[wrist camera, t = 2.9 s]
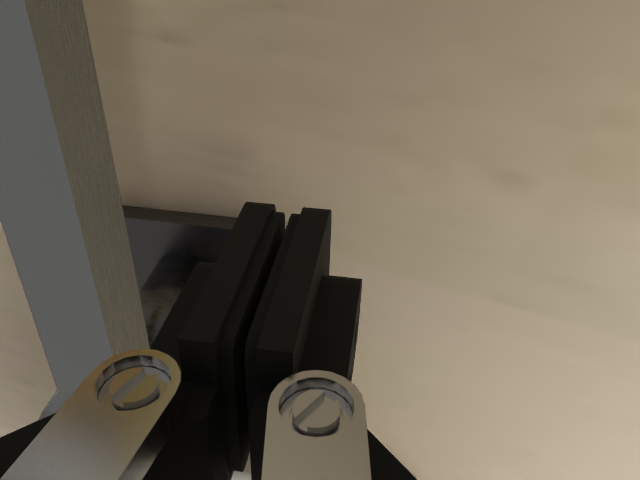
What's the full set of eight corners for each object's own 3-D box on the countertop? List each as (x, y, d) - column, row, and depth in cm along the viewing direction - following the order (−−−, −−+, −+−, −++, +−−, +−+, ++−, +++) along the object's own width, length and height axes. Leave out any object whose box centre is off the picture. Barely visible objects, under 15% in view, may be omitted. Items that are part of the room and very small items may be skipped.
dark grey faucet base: (114, 204, 24) (32, 302, 19) (261, 220, 23) (214, 325, 18) (137, 317, 27) (72, 423, 23) (265, 333, 27) (227, 447, 22)
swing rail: (197, 427, 21) (169, 499, 19) (91, 411, 22) (51, 480, 20) (104, -201, 11) (18, -206, 9) (-93, -205, 12) (-223, -212, 9)
